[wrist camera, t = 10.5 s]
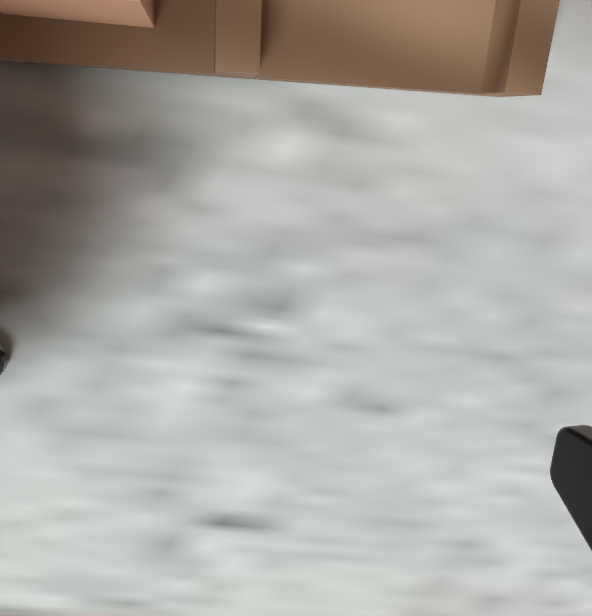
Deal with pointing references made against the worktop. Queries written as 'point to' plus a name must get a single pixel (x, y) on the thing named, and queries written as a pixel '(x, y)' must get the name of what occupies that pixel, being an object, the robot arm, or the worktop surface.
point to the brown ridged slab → (313, 42)
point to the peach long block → (85, 10)
